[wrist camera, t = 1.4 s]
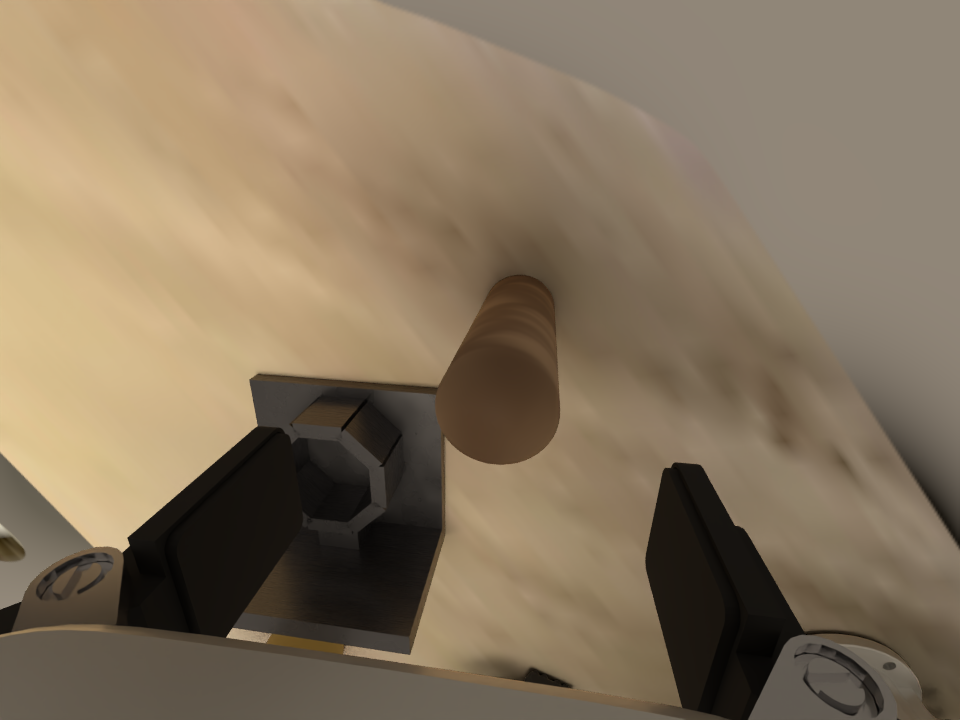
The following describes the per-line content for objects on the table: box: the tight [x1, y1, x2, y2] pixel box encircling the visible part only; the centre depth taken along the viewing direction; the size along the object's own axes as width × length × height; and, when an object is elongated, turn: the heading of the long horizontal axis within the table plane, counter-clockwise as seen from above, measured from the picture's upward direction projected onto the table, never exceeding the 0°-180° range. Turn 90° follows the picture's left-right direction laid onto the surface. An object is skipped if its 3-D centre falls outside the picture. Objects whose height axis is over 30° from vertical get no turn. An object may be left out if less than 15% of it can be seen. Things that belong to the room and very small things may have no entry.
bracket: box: [233, 374, 445, 655], centre depth 30 cm, size 13×14×10 cm
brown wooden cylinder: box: [435, 275, 560, 465], centre depth 22 cm, size 4×4×14 cm
